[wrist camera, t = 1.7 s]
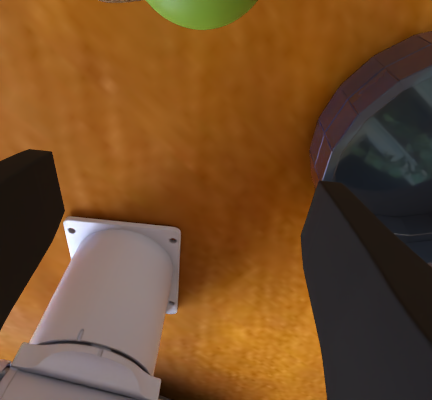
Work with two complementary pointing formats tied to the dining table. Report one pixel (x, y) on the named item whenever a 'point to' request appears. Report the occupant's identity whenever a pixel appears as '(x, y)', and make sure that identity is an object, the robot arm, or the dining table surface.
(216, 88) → the dining table surface
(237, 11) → the snail figurine
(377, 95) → the bowl
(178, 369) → the dining table surface
